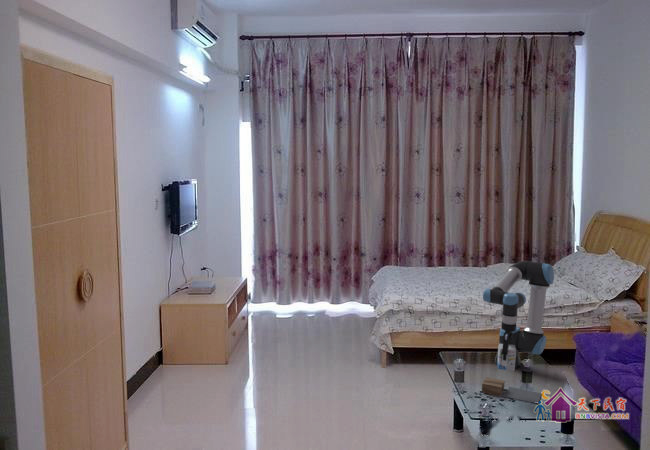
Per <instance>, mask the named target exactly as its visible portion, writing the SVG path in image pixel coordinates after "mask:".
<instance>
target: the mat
mask: <svg viewBox="0 0 650 450" xmlns="http://www.w3.org/2000/svg"><path fill="white" fill-rule="evenodd" d="M541 397H542V393H541V392H537V391H532V390H528V389H523V388H518V387H514V386H508V387H507V391H506V393H505V394H504V395H503V398H507V399H509V400H511V399H512V400H516V401H521V402H524V401H525V402H526V403H529V402H533V403H532V404H534V403H535V402H540V400H539V399H541Z"/></svg>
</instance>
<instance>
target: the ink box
mask: <svg viewBox="0 0 650 450" xmlns="http://www.w3.org/2000/svg"><path fill="white" fill-rule="evenodd" d="M502 348H503V344H499V343H498V348H497V353H498V360H497V364H496V365H497V368H498V370H505V371H513V372H514V371H515V370H516V368H515V360H516V348H515V345H509V348H508V362H507V366H502V354H501V353H502Z"/></svg>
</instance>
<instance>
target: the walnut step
mask: <svg viewBox="0 0 650 450" xmlns="http://www.w3.org/2000/svg"><path fill="white" fill-rule="evenodd" d="M504 391H505V380H503V379H498V378H492V377H487V376H486V377H485V378H484V380H483V381H482V383H481V393H484V394H488V395H493V396H497V397H502V395H503V392H504Z"/></svg>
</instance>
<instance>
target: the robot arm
mask: <svg viewBox="0 0 650 450" xmlns="http://www.w3.org/2000/svg"><path fill="white" fill-rule="evenodd" d="M521 280H522V281H523V280H524V281H527V282H528V285H529V287H530V294H529V302H528V311H527V318H526V320H527V321H526V325H525V327H524V328H522V330H521V328H520V327H518V326H517V322H518V309H520V308H522V307H523V306H525V304H526V301H527V298H526V295H525V294H524V293H522V292H515V293H514V292H509V291H510V290H511V289H512V287H513V286H514V285H515V284H516V283H517V282H520V281H521ZM554 280H555V271H554V267H553V265H551V264H549V263H545V262H537V261H531V260H522V261H521V260H520V261H518V262H516V263H513V264H512V265H510V266H509V267H508V268H507V269H506V272H505V274H504V275H503V276H502V277H501V279H500V280H499V281H497V283H496V284H495V285H493V286H492V288H485V289H484V290H483V291H482V300H483V301H484V302H486V303H488V304H495V305H500V306H502V312H501V313H502V314H501V315H500V317H501V328H500V330H499V334H498V335H499V336H498V337H499V338H498V345H499V344H503V348H502V353H501V354H502V366H507V362H508V348H509V345H515V348H516V360H515V369H517V368H516V367H518V366H519V365H520V366H521V364H520V363H522V361H521V358H520V355H519V351H520V352H521V351H522V352H524V353H529V354H532V355H541V354H542V353H543V351H544V350H545V349H546V348H545V347H546V345H547V336H546V335H544V334H545V331H544V330H543V329H542V328H543V320H544V318H543V317H544V313H545V312H544V311H545V304H546V303H545V302H546V295H547V289H549V288H550V286H551V285H553V284H554ZM497 360H498V352H497V353H496V355H495V357H494V363H495V365H497ZM518 368H519V367H518Z"/></svg>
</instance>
